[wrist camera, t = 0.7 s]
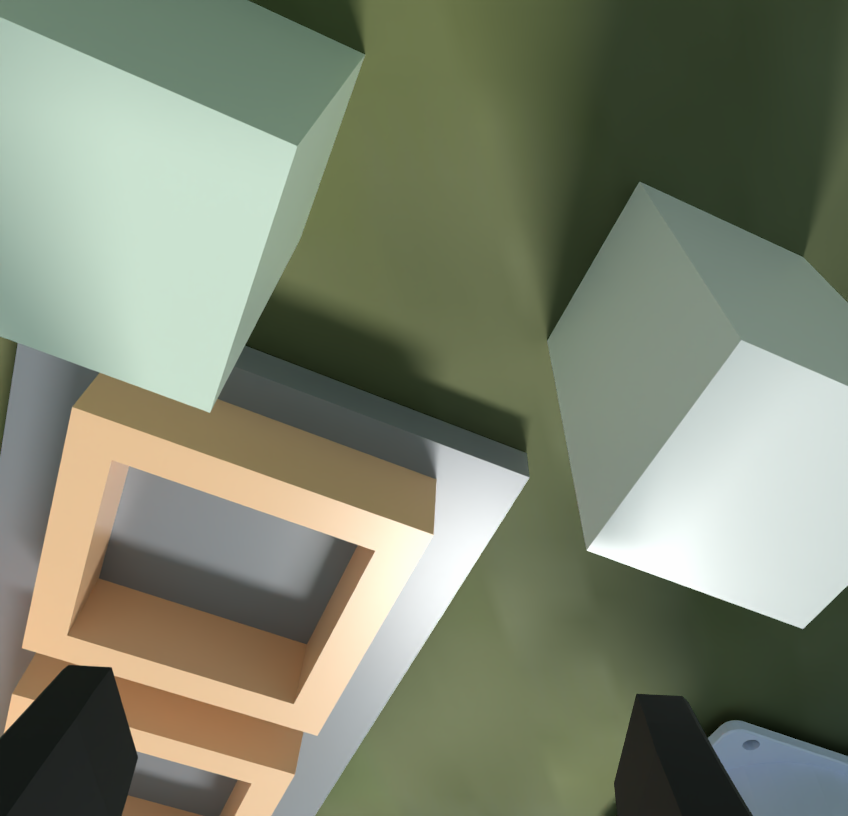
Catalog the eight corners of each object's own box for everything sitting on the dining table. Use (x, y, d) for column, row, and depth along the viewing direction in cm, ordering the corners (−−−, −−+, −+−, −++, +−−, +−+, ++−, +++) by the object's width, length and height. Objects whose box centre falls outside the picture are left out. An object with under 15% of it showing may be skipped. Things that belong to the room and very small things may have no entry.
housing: (526, 453, 20) (535, 532, 17) (286, 840, 30) (270, 926, 27) (47, 269, 18) (-24, 330, 15) (-35, 753, 28) (-85, 838, 25)
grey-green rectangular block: (803, 257, 17) (988, 446, 11) (696, 402, 19) (803, 629, 13) (639, 181, 16) (741, 340, 10) (547, 340, 18) (586, 550, 12)
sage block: (365, 54, 15) (297, 146, 9) (300, 238, 17) (210, 412, 11) (160, -41, 14) (-61, -10, 8) (118, 163, 16) (-84, 305, 10)
